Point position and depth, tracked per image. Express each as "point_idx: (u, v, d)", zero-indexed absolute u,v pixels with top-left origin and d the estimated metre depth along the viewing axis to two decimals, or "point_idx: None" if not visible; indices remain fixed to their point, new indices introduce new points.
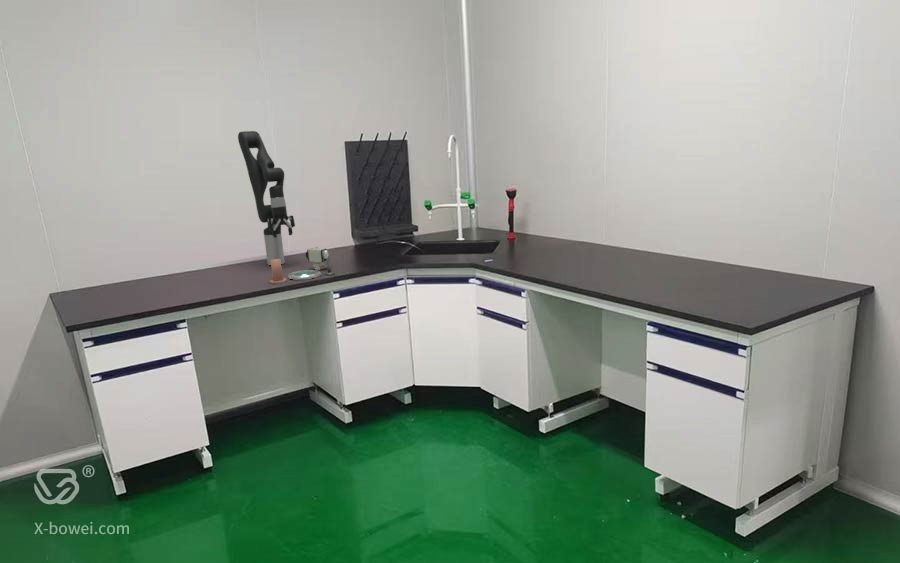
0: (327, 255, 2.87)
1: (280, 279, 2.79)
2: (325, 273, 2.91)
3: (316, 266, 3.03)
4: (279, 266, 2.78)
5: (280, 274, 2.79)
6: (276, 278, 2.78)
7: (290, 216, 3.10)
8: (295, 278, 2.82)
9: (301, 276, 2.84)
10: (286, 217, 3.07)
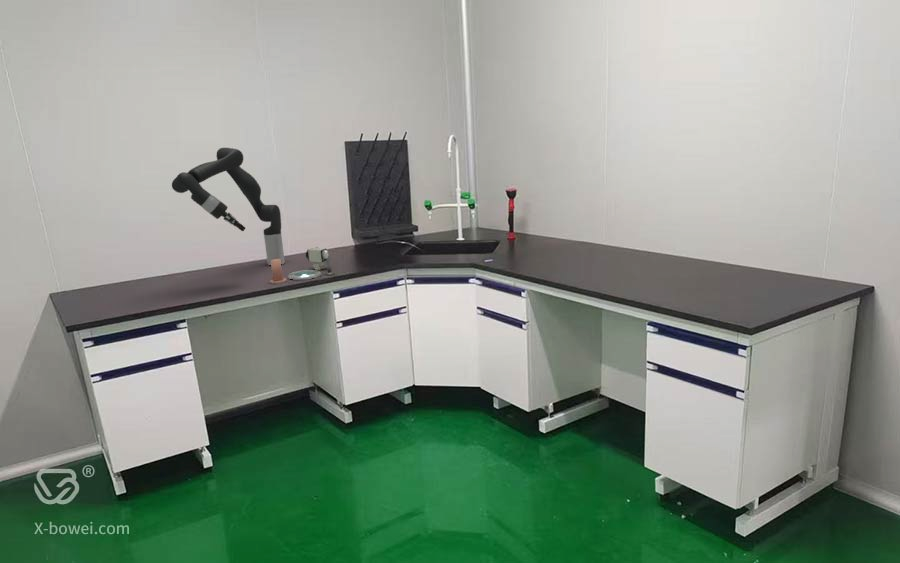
0: (327, 255, 2.87)
1: (280, 279, 2.79)
2: (325, 273, 2.91)
3: (316, 266, 3.03)
4: (279, 266, 2.78)
5: (280, 274, 2.79)
6: (276, 278, 2.78)
7: None
8: (295, 278, 2.82)
9: (301, 276, 2.84)
10: (224, 217, 2.65)
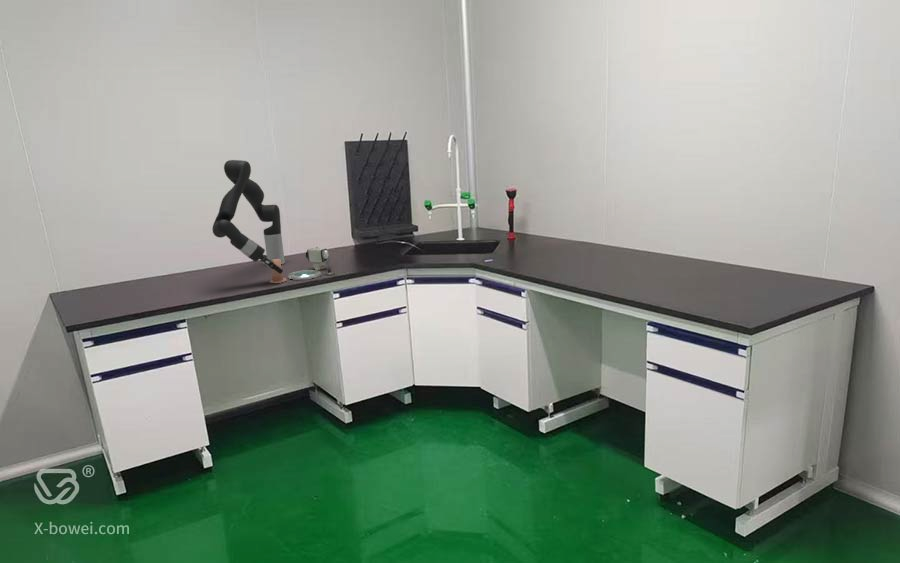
0: (327, 255, 2.87)
1: (280, 279, 2.79)
2: (325, 273, 2.91)
3: (316, 266, 3.03)
4: (279, 266, 2.78)
5: (280, 274, 2.79)
6: (276, 278, 2.78)
7: (265, 261, 2.71)
8: (295, 278, 2.82)
9: (301, 276, 2.84)
10: (262, 261, 2.73)
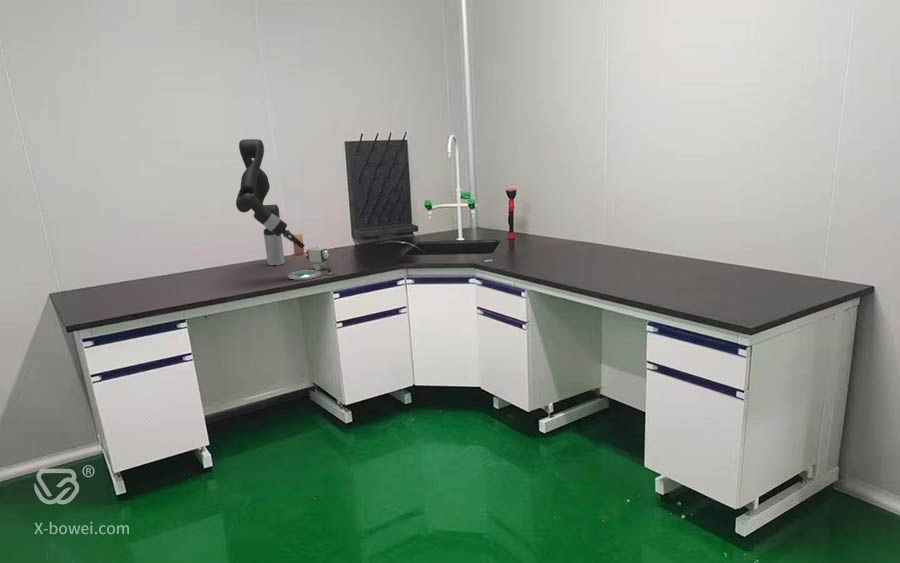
0: (327, 255, 2.87)
1: (301, 254, 2.85)
2: (325, 273, 2.91)
3: (316, 266, 3.03)
4: (301, 241, 2.83)
5: (302, 249, 2.84)
6: (298, 252, 2.84)
7: None
8: (295, 278, 2.82)
9: (301, 276, 2.84)
10: (284, 235, 2.79)
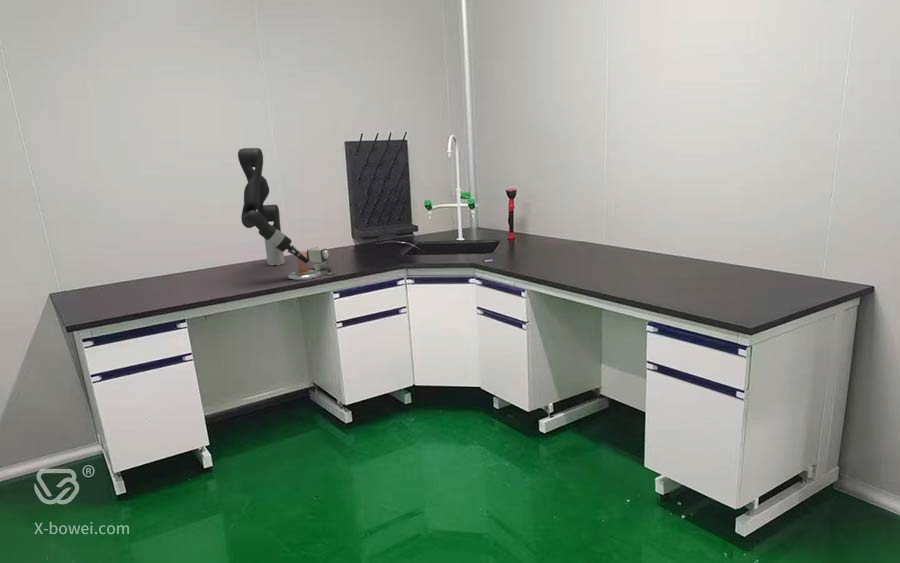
0: (327, 255, 2.87)
1: (306, 270, 2.88)
2: (325, 273, 2.91)
3: (316, 266, 3.03)
4: None
5: (306, 266, 2.87)
6: (302, 269, 2.87)
7: (291, 250, 2.79)
8: (295, 278, 2.82)
9: (301, 276, 2.84)
10: (289, 251, 2.81)
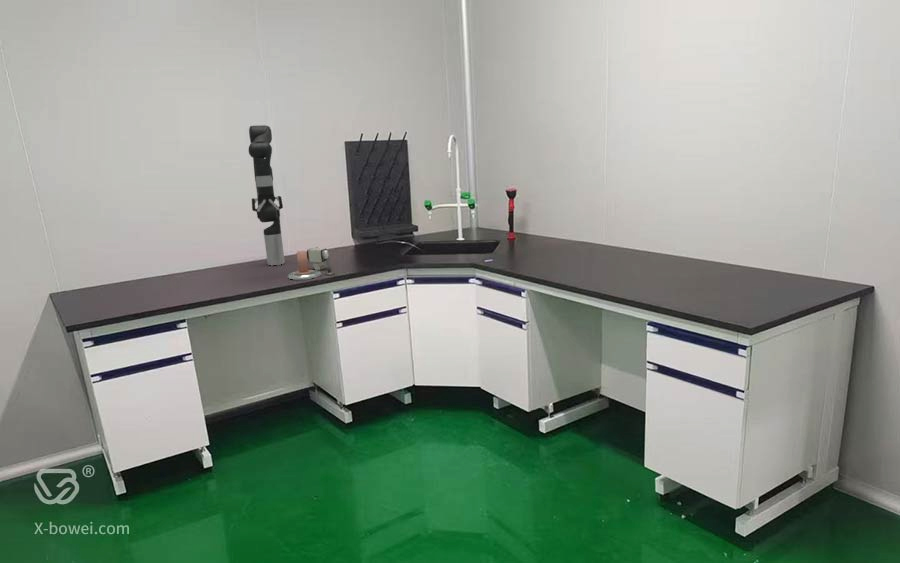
0: (327, 255, 2.87)
1: (306, 270, 2.88)
2: (325, 273, 2.91)
3: (316, 266, 3.03)
4: (305, 258, 2.86)
5: (306, 266, 2.87)
6: (302, 269, 2.87)
7: (278, 197, 2.82)
8: (295, 278, 2.82)
9: (301, 276, 2.84)
10: (273, 198, 2.80)
